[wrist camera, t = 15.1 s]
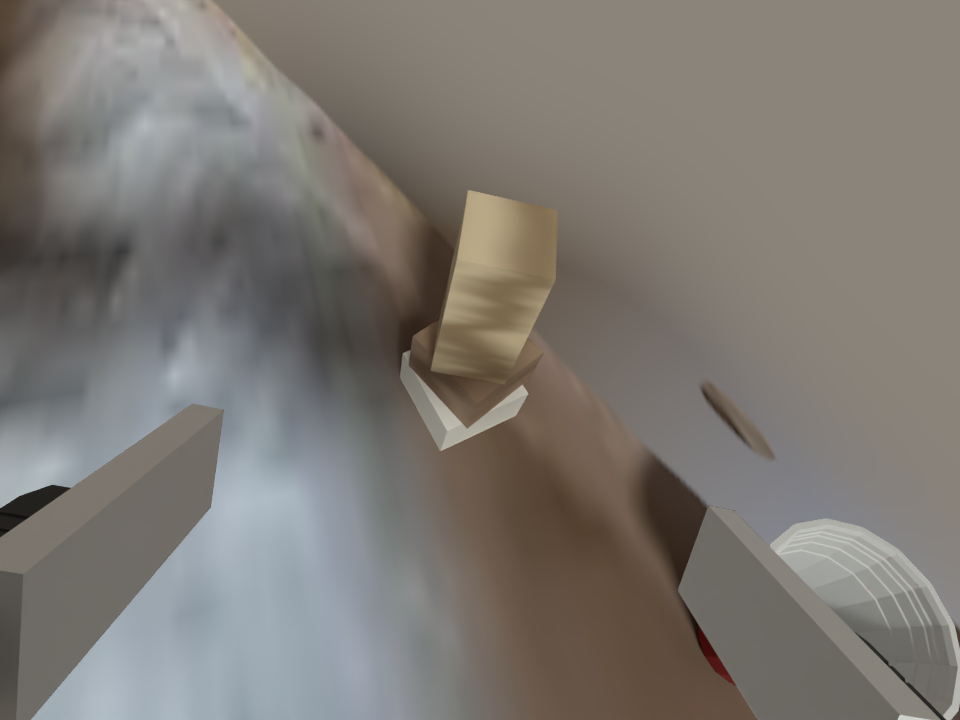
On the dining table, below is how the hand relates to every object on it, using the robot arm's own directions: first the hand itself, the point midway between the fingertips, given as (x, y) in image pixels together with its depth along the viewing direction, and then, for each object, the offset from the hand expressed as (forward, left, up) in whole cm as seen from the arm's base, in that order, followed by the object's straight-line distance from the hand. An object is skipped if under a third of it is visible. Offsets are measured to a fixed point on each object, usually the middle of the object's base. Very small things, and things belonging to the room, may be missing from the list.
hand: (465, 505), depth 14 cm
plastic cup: (+15, +18, -25) cm, 34 cm away
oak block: (-11, +12, -17) cm, 23 cm away
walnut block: (-11, +13, -21) cm, 27 cm away
